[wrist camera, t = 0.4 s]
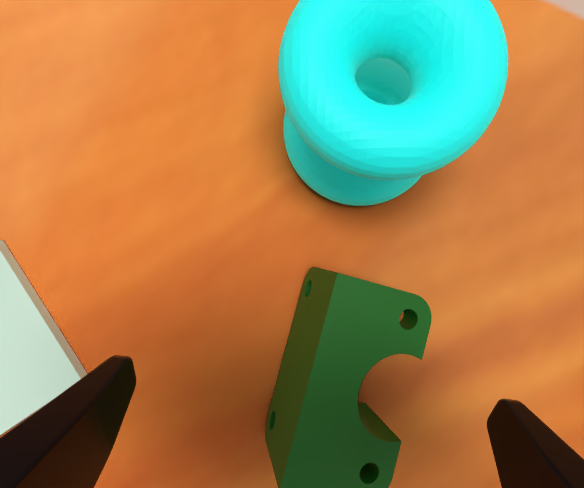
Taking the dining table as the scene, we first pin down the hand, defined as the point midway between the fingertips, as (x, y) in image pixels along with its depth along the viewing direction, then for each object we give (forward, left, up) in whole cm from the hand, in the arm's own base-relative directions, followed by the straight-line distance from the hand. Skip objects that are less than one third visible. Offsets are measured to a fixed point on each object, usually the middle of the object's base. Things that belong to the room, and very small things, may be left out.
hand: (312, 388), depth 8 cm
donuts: (+10, -7, -15) cm, 19 cm away
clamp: (-4, -1, -15) cm, 16 cm away
